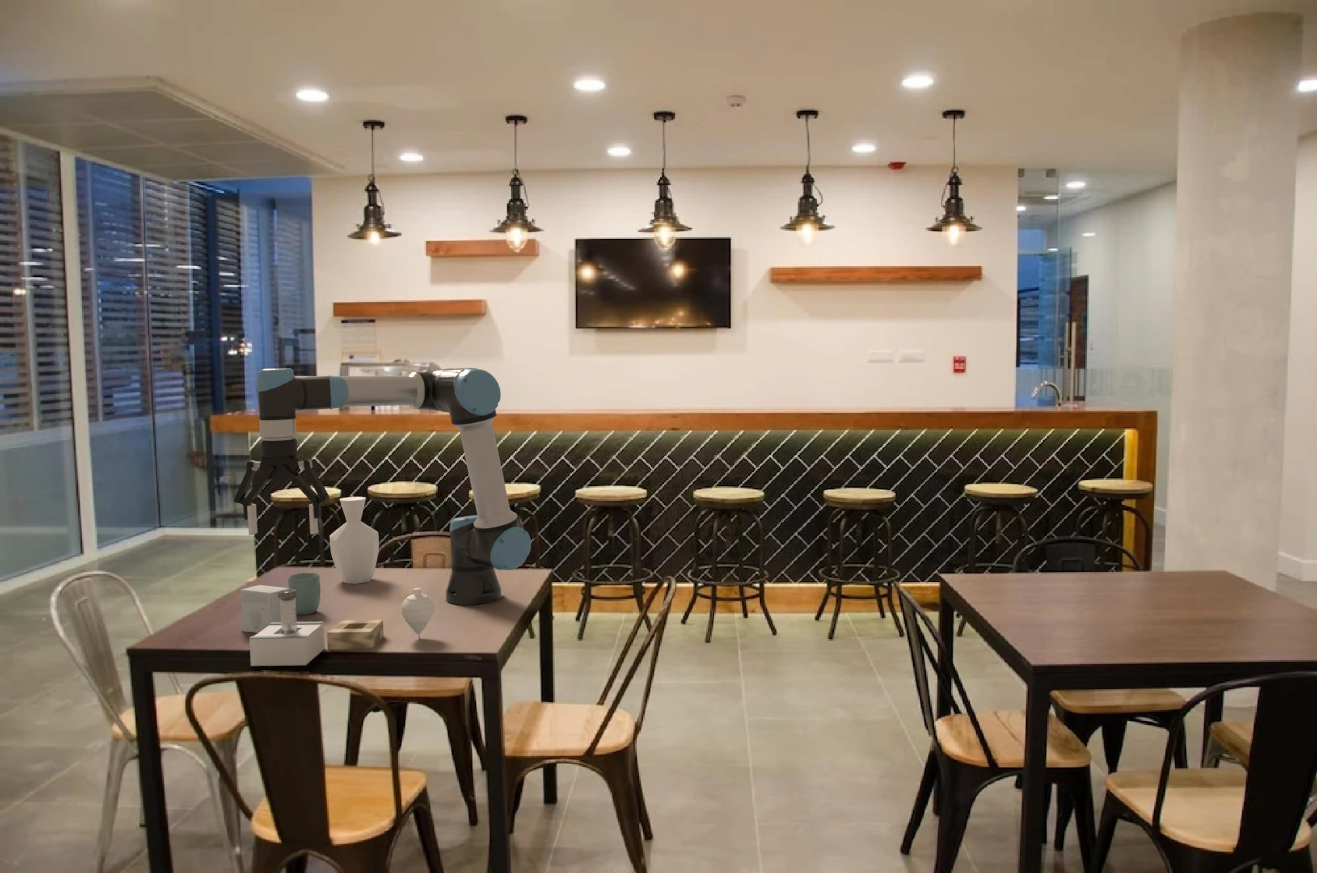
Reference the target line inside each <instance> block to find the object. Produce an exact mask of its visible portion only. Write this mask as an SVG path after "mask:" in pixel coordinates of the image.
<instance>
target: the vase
mask: <svg viewBox="0 0 1317 873" xmlns="http://www.w3.org/2000/svg"><path fill="white" fill-rule="evenodd" d="M366 499H367V498H366V497H363V496H350V497H342V498H339V501H340V505H341V508H342V511H343V514H344V516H345V520H346V522H345V523H343V524H342V525H341V526H340V527H338V528H337V529H336V530H334V531H333V532H332V533H331V534H329V544H330V545H329V547H330V554H331V557H332V561H333V564H334V567H335V569H336V572H337V574H338V575H339V577H340V579H341V581H342V583H344V584H353V585H355V584H356V585H357V584H363V583H368V582H370V581H371V580H372V579H373V577H374V574H375V572H376V564H377V562H378V556H379V553H380V549H379V548H380V545H379V542H380V541H379V539H380V538H379V531H377V530H376V529H374V528H373V527H371V526H369V525H367V524H366V523H364V522H363V521H361V520H362V516H363V511H364V507H365V504H366Z"/></svg>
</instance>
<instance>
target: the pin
mask: <svg viewBox="0 0 1317 873" xmlns="http://www.w3.org/2000/svg"><path fill="white" fill-rule="evenodd" d="M295 597H297V590H295V589H287V590H281V591H279V592H278V598H279V599H280V609H281V629H282V634H295V633H296V632H297V622H298V621H297V614H296V600H295Z"/></svg>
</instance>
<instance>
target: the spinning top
mask: <svg viewBox="0 0 1317 873" xmlns="http://www.w3.org/2000/svg"><path fill="white" fill-rule="evenodd" d="M412 592H413V593H412V594H410V595H409V596H407V597H406V599H404V601H403V602H402V604H401V606H400V610H401V611H400V612H401V614H402V617H403V618H404V620H405V622H406V623H407V624H408V626H409V627H410V629H412V630H413V632H414V633H415V634H417V639H420V638H421V637H420V636H421V635H422V634H421V633H423V631H424V630H425V628H426V627H427V626H428V624H429V622H430V621H431V620H432V617H433V614H434V611H435V604H434V603H435V602H434V601H433V600H432V599H431V598H430V597H429V595H427V594H423V593H422V588H421V587H416V588H413V589H412Z"/></svg>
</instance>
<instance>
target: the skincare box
mask: <svg viewBox="0 0 1317 873" xmlns="http://www.w3.org/2000/svg"><path fill="white" fill-rule="evenodd" d="M287 589H290V588H288V587H282V586H281V587H280V586H270V585H261V584H258V585H254V586H250V587H246V588H242V589H240V591H239V594H240V609H241V610H240V612H241V632H247V633H248V632H249V633H255V634H258V633H259V632H260V631H262V630H263V629H265V628H266V627H268V626H269V625H270V623H272V622H281V609H280V599H279V598H278V592H279V591H281V590H287Z"/></svg>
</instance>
